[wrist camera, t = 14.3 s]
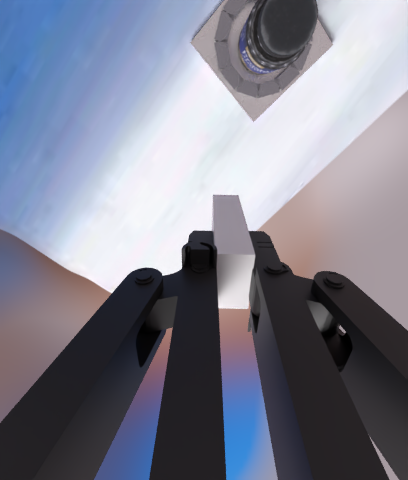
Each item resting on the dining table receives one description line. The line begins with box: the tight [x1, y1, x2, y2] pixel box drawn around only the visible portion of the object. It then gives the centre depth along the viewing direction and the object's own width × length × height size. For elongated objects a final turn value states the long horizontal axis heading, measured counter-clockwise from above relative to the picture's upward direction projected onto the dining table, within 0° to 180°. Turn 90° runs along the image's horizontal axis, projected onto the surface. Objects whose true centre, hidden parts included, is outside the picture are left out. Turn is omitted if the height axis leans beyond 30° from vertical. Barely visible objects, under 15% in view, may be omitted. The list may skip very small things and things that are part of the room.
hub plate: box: [190, 0, 333, 122], centre depth 30 cm, size 12×12×2 cm
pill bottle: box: [238, 0, 318, 74], centre depth 26 cm, size 6×6×11 cm
